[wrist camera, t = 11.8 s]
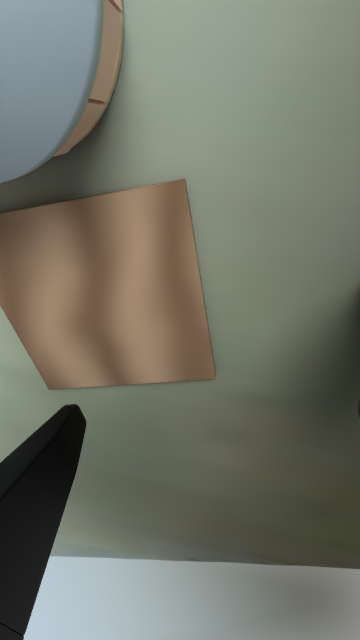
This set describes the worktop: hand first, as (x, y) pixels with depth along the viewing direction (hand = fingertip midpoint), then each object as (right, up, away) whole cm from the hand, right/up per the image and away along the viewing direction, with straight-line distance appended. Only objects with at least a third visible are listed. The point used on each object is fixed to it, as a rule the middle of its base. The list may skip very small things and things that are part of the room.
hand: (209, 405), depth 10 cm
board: (-7, +4, +14) cm, 16 cm away
